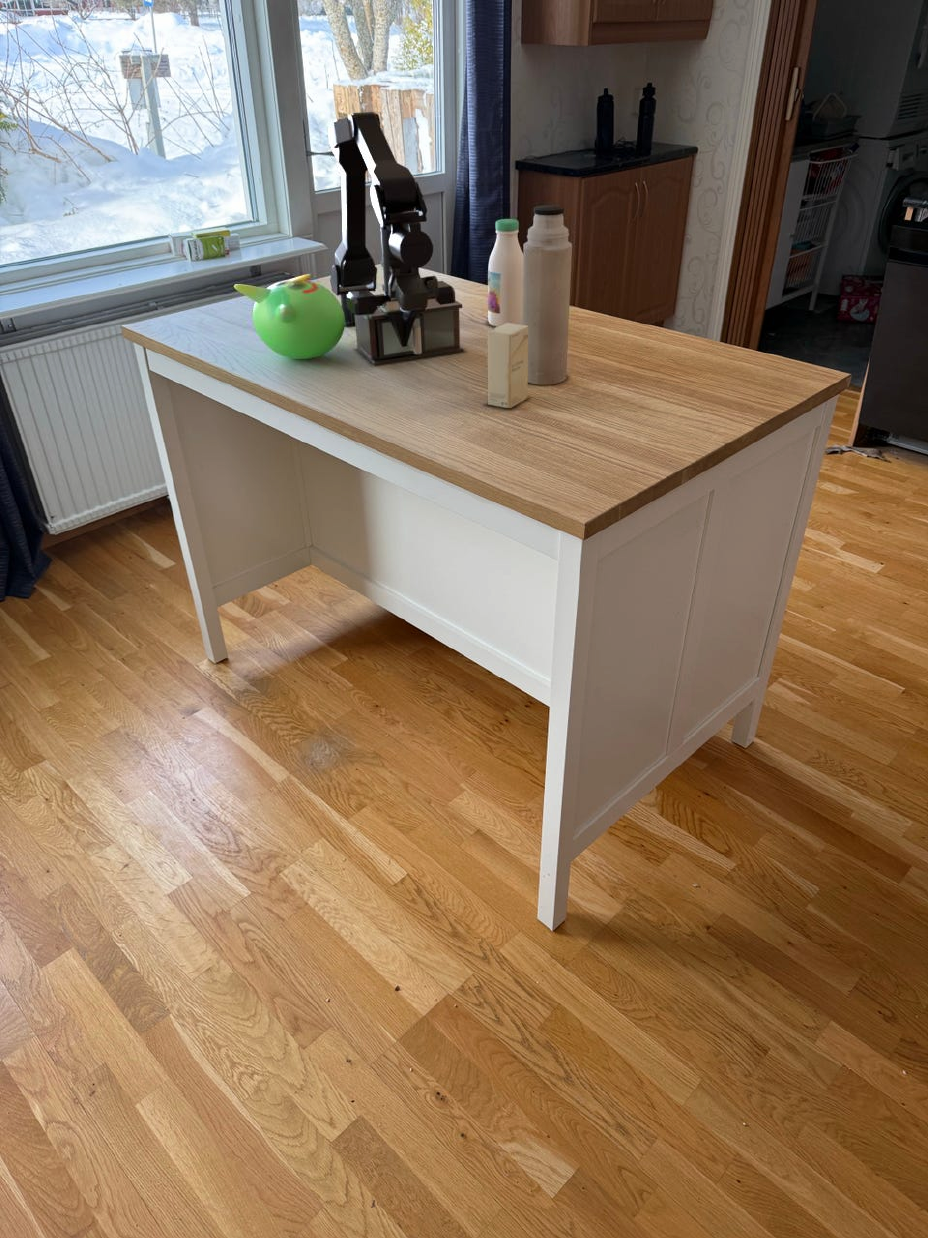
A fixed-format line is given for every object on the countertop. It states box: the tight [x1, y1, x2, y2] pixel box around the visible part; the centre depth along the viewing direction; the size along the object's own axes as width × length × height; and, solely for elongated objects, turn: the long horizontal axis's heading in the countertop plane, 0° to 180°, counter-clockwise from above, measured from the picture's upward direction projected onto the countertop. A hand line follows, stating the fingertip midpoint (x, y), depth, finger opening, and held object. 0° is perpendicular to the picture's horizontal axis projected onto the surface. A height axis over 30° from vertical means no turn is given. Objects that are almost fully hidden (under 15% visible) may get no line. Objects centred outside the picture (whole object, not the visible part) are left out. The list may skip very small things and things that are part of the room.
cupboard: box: [354, 298, 464, 366], centre depth 171 cm, size 11×18×9 cm, turn 113°
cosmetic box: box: [487, 323, 528, 409], centre depth 146 cm, size 6×4×12 cm
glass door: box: [377, 314, 425, 359], centre depth 165 cm, size 6×9×7 cm, turn 113°
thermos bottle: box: [521, 204, 573, 386], centre depth 152 cm, size 8×8×28 cm
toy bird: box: [233, 273, 346, 360], centre depth 168 cm, size 18×17×15 cm
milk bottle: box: [487, 218, 523, 327], centre depth 183 cm, size 8×8×20 cm
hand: (403, 346), depth 163 cm, fingers closed
